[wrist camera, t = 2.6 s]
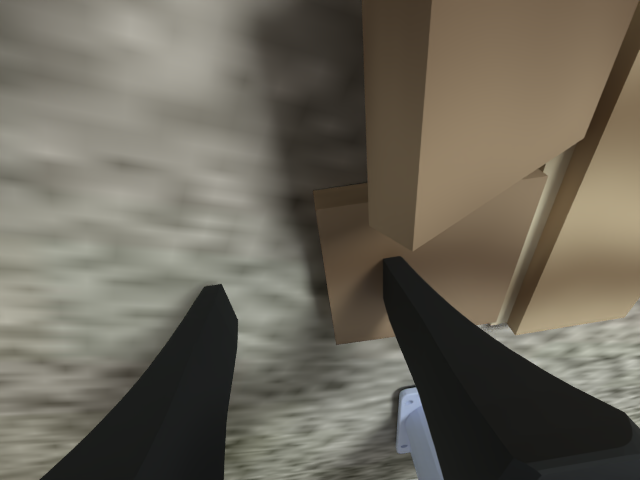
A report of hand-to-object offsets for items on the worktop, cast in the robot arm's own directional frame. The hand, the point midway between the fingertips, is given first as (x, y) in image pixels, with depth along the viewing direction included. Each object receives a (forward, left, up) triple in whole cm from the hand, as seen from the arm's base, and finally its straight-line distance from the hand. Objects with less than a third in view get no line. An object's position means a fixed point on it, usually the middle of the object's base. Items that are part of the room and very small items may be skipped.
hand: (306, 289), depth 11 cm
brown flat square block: (0, -4, -1) cm, 4 cm away
